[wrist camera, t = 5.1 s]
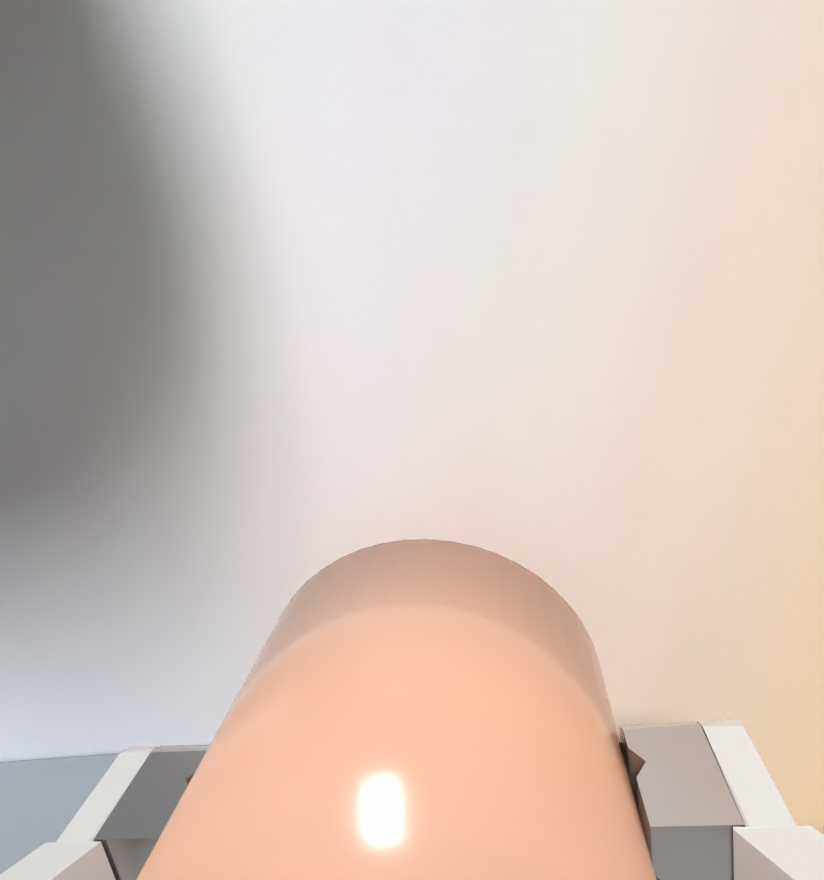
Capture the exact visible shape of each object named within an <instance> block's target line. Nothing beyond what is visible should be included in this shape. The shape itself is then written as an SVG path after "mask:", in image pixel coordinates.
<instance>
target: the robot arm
mask: <svg viewBox="0 0 824 880" xmlns="http://www.w3.org/2000/svg"><path fill="white" fill-rule="evenodd" d="M620 743H621V747H622V751H623V755H624V758H625V762H626V766H627V770H628V774H629V777H630V781H631V785H632V789H633V792H634V796H635V800H636V804H637V807H638V811H639V815H640V819H641V823H642V826H643V830H644V834H645V838H646V841H647V845H648V849H649V853H650V856H651V860H652V864H653V868H654V872H655V875H656V879H657V880H824V834H823V833H821V832H820V831H818V830H817V829H816V828H814V827H813V826H798V825H797V823H796V821H795V819H794V817H793V815H792V813H791V812H790V810H789V808H788V806H787V804H786V802H785V800H784V799H783V797H782V795H781V793H780V791H779V789H778V787H777V785H776V784H775V782H774V780H773V778H772V776H771V774H770V772H769V771H768V769H767V767H766V765H765V763H764V761H763V759H762V758H761V756H760V754H759V752H758V750H757V748H756V746H755V745H754V743H753V741H752V739H751V737H750V735H749V733H748V731H747V730H746V728H745V726H744V724H743V723H742V722H740V721H739V720H738V719H725V720H709V721H698V722H697V723H696V722H686V723H668V724H650V725H631V726H620ZM209 746H210V745H183V746H160V747H130V748H128V749H126V750H125V751H123V752H121V753H120V754H119V755H118V757H117V758H116V759H115V761H114V762H113V763H112V765H111V766H110V768H109V769H108V770H107V772H106V773H105V775H104V776H103V777H102V779H101V780H100V781H99V783H98V784H97V786H96V787H95V788H94V790H93V791H92V793H91V794H90V795H89V797H88V798H87V800H86V801H85V802H84V804H83V805H82V806H81V808H80V809H79V811H78V812H77V813H76V815H75V816H74V818H73V819H72V820H71V822H70V823H69V824H68V826H67V827H66V829H65V830H64V831H63V833H62V834H61V836H60V837H59V838H58V840H57V841H56V842H50V843H44V844H43V845H42V846H40V847H39V848H37V849H36V850H34V851H33V852H32V853H30V854H29V855H27V856H26V857H24V858H23V859H22V860H20V861H19V862H17V863H16V864H14V865H13V866H12V867H10V868H9V869H7V870H6V871H5V872H3V873H2V874H0V880H136V879H137V878H138V876H139V874H140V872H141V870H142V868H143V867H144V865H145V863H146V861H147V859H148V858H149V856H150V854H151V852H152V850H153V848H154V847H155V845H156V843H157V841H158V839H159V837H160V836H161V834H162V832H163V830H164V828H165V826H166V825H167V823H168V821H169V819H170V817H171V815H172V814H173V812H174V810H175V808H176V806H177V804H178V803H179V801H180V799H181V797H182V795H183V794H184V792H185V790H186V788H187V786H188V784H189V783H190V781H191V779H192V777H193V775H194V773H195V772H196V770H197V768H198V766H199V764H200V762H201V761H202V759H203V757H204V755H205V753H206V751H207V750H208V748H209Z"/></svg>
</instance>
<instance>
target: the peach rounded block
mask: <svg viewBox="0 0 824 880" xmlns="http://www.w3.org/2000/svg"><path fill="white" fill-rule="evenodd" d="M136 880H657V879H656V875H655V872H654V868H653V864H652V860H651V856H650V853H649V849H648V845H647V841H646V838H645V834H644V830H643V826H642V823H641V819H640V815H639V811H638V807H637V804H636V800H635V796H634V792H633V789H632V785H631V781H630V777H629V774H628V770H627V766H626V762H625V758H624V755H623V751H622V747H621V743H620V739H619V736H618V732H617V728H616V724H615V721H614V717H613V713H612V709H611V705H610V702H609V698H608V694H607V690H606V687H605V683H604V679H603V675H602V672H601V668H600V664H599V661H598V658H597V655H596V652H595V649H594V646H593V643H592V641H591V639H590V637H589V635H588V633H587V631H586V629H585V627H584V625H583V623H582V622H581V621H580V619H579V618H578V616H577V615H576V614H575V612H574V611H573V609H572V608H571V607H570V605H569V604H568V603H567V602H566V601H565V600H564V599H563V598H562V597H561V596H560V595H559V594H558V593H557V592H556V591H555V590H554V589H553V588H552V587H551V586H549V585H548V584H547V583H546V582H544V581H543V580H542V579H541V578H540V577H538V576H537V575H535V574H534V573H532V572H530V571H529V570H527V569H526V568H524V567H523V566H521V565H519V564H518V563H515V562H513V561H511V560H509V559H507V558H505V557H503V556H501V555H498V554H496V553H493V552H490V551H487V550H484V549H481V548H478V547H475V546H471V545H466V544H461V543H456V542H451V541H440V540H428V539H423V540H401V541H395V542H389V543H383V544H378V545H375V546H371V547H368V548H364V549H361V550H358V551H356V552H353V553H351V554H349V555H347V556H344V557H342V558H340V559H338V560H336V561H335V562H333V563H331V564H330V565H328V566H327V567H325V568H323V569H322V570H320V571H319V572H318V573H317V574H315V575H314V576H313V577H312V578H311V579H309V580H308V581H307V582H306V583H305V584H304V585H303V586H302V587H301V588H300V589H299V591H298V592H297V593H296V594H295V595H294V596H293V597H292V599H291V600H290V602H289V603H288V605H287V606H286V608H285V610H284V611H283V613H282V614H281V616H280V618H279V620H278V622H277V623H276V625H275V627H274V629H273V631H272V633H271V634H270V636H269V638H268V640H267V642H266V644H265V645H264V647H263V649H262V651H261V653H260V655H259V656H258V658H257V660H256V662H255V664H254V666H253V667H252V669H251V671H250V673H249V675H248V677H247V678H246V680H245V682H244V684H243V686H242V687H241V689H240V691H239V693H238V695H237V697H236V698H235V700H234V702H233V704H232V706H231V708H230V709H229V711H228V713H227V715H226V717H225V719H224V720H223V722H222V724H221V726H220V728H219V730H218V731H217V733H216V735H215V737H214V739H213V741H212V742H211V744H210V746H209V748H208V750H207V751H206V753H205V755H204V757H203V759H202V761H201V762H200V764H199V766H198V768H197V770H196V772H195V773H194V775H193V777H192V779H191V781H190V783H189V784H188V786H187V788H186V790H185V792H184V794H183V795H182V797H181V799H180V801H179V803H178V804H177V806H176V808H175V810H174V812H173V814H172V815H171V817H170V819H169V821H168V823H167V825H166V826H165V828H164V830H163V832H162V834H161V836H160V837H159V839H158V841H157V843H156V845H155V847H154V848H153V850H152V852H151V854H150V856H149V858H148V859H147V861H146V863H145V865H144V867H143V868H142V870H141V872H140V874H139V876H138V878H137V879H136Z"/></svg>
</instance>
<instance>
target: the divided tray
mask: <svg viewBox="0 0 824 880" xmlns="http://www.w3.org/2000/svg"><path fill="white" fill-rule="evenodd" d="M119 754H120V753H118V754H104V755H91V756H78V757H64V758H51V759H38V760H24V761H11V762H0V874H2V873H3V872H5V871H6V870H7V869H9V868H10V867H12V866H13V865H14V864H16V863H17V862H19V861H20V860H22V859H23V858H24V857H26V856H27V855H29V854H30V853H32V852H33V851H34V850H36V849H37V848H39V847H40V846H42V845H43V844H44V843H50V842H56V841H57V840H58V838H59V837H60V836H61V834H62V833H63V831H64V830H65V829H66V827H67V826H68V824H69V823H70V822H71V820H72V819H73V818H74V816H75V815H76V813H77V812H78V811H79V809H80V808H81V806H82V805H83V804H84V802H85V801H86V800H87V798H88V797H89V795H90V794H91V793H92V791H93V790H94V788H95V787H96V786H97V784H98V783H99V781H100V780H101V779H102V777H103V776H104V775H105V773H106V772H107V770H108V769H109V768H110V766H111V765H112V763H113V762H114V761H115V759H116V758H117V757H118V755H119Z"/></svg>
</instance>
